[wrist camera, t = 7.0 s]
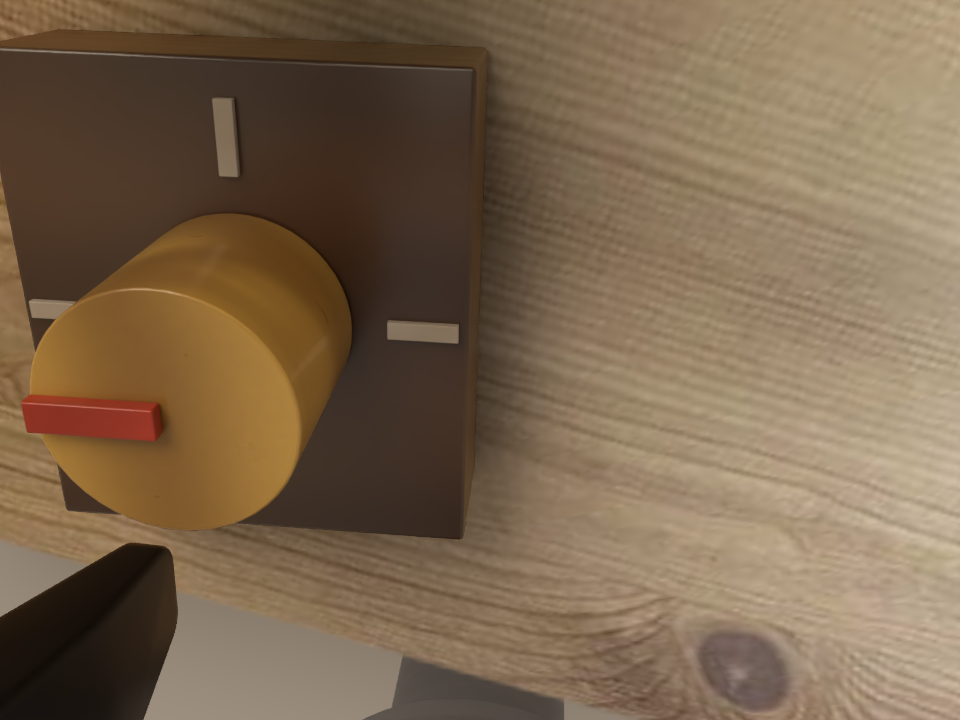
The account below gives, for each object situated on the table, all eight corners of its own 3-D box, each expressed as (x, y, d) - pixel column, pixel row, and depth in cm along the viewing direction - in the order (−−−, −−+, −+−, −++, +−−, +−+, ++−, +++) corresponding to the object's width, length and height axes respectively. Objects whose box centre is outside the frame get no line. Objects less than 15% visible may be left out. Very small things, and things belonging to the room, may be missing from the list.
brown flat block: (474, 468, 23) (462, 546, 20) (122, 444, 23) (61, 516, 20) (488, 47, 18) (476, 69, 16) (56, 29, 19) (-33, 46, 16)
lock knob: (349, 219, 17) (287, 304, 13) (355, 424, 19) (303, 552, 15) (119, 206, 17) (-8, 286, 13) (148, 410, 19) (44, 533, 15)
